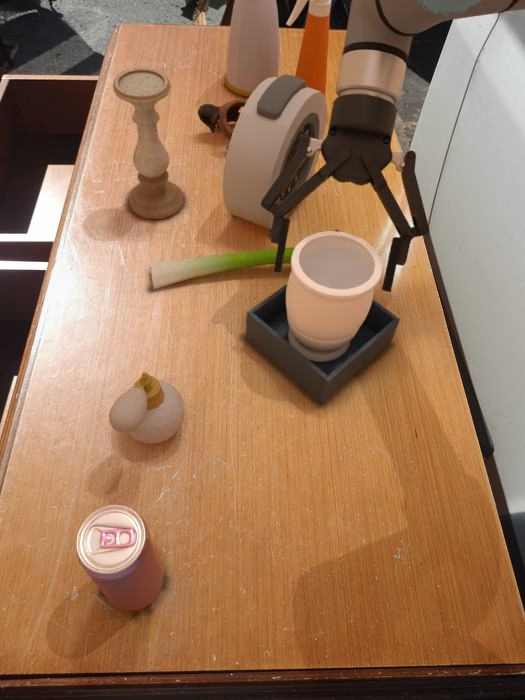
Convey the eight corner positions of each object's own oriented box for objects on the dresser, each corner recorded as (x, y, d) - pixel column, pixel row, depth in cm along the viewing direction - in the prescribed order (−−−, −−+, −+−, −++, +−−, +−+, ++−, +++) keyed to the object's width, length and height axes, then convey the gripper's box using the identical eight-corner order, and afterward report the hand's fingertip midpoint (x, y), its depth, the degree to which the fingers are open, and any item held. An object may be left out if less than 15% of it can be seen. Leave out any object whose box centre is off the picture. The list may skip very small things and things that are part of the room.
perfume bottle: (186, 396, 71) (179, 341, 61) (186, 469, 65) (179, 420, 55) (126, 399, 70) (109, 343, 60) (121, 472, 64) (102, 424, 54)
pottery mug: (260, 124, 106) (271, 101, 98) (250, 170, 104) (262, 150, 97) (198, 104, 103) (205, 79, 95) (188, 151, 102) (194, 129, 94)
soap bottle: (285, 73, 116) (298, -78, 95) (273, 103, 110) (285, -52, 88) (232, 64, 117) (234, -88, 96) (217, 93, 110) (216, -63, 89)
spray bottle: (265, 121, 106) (275, -37, 84) (305, 102, 110) (325, -53, 89) (291, 139, 103) (308, -20, 82) (331, 118, 108) (358, -37, 86)
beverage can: (163, 610, 56) (146, 573, 44) (102, 614, 56) (68, 578, 43) (164, 549, 60) (149, 500, 47) (108, 553, 59) (77, 503, 47)
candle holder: (124, 188, 93) (103, 68, 76) (176, 180, 94) (166, 61, 78) (134, 224, 88) (113, 103, 71) (189, 214, 90) (181, 95, 73)
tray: (390, 344, 77) (400, 319, 73) (321, 404, 71) (328, 381, 66) (315, 286, 82) (320, 259, 78) (245, 337, 76) (246, 312, 72)
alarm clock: (263, 246, 87) (272, 133, 70) (221, 229, 88) (221, 114, 72) (318, 171, 98) (337, 59, 82) (280, 158, 100) (291, 45, 83)
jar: (346, 305, 80) (368, 226, 68) (366, 365, 74) (394, 290, 62) (273, 312, 78) (283, 233, 66) (288, 374, 73) (301, 299, 60)
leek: (153, 271, 85) (345, 243, 87) (157, 310, 82) (356, 279, 84) (145, 246, 79) (350, 217, 82) (150, 287, 76) (362, 255, 79)
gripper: (464, 125, 68) (426, 297, 72) (264, 94, 70) (236, 263, 73) (482, 109, 61) (439, 301, 64) (258, 74, 62) (228, 264, 66)
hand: (331, 281), depth 69 cm, fingers open, 13 cm apart
